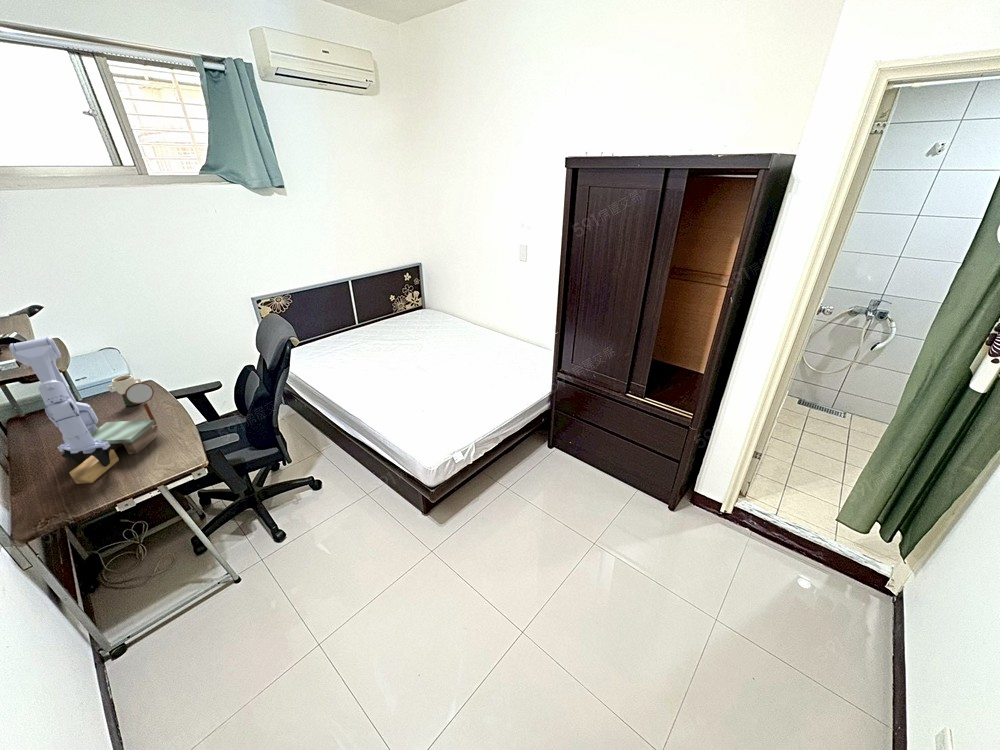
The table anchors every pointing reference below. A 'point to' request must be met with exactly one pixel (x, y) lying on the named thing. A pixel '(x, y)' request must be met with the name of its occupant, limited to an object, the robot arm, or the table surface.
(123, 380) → the character mug
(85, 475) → the peg
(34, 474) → the table surface
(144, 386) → the magnifying glass
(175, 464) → the table surface
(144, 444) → the socket shed
